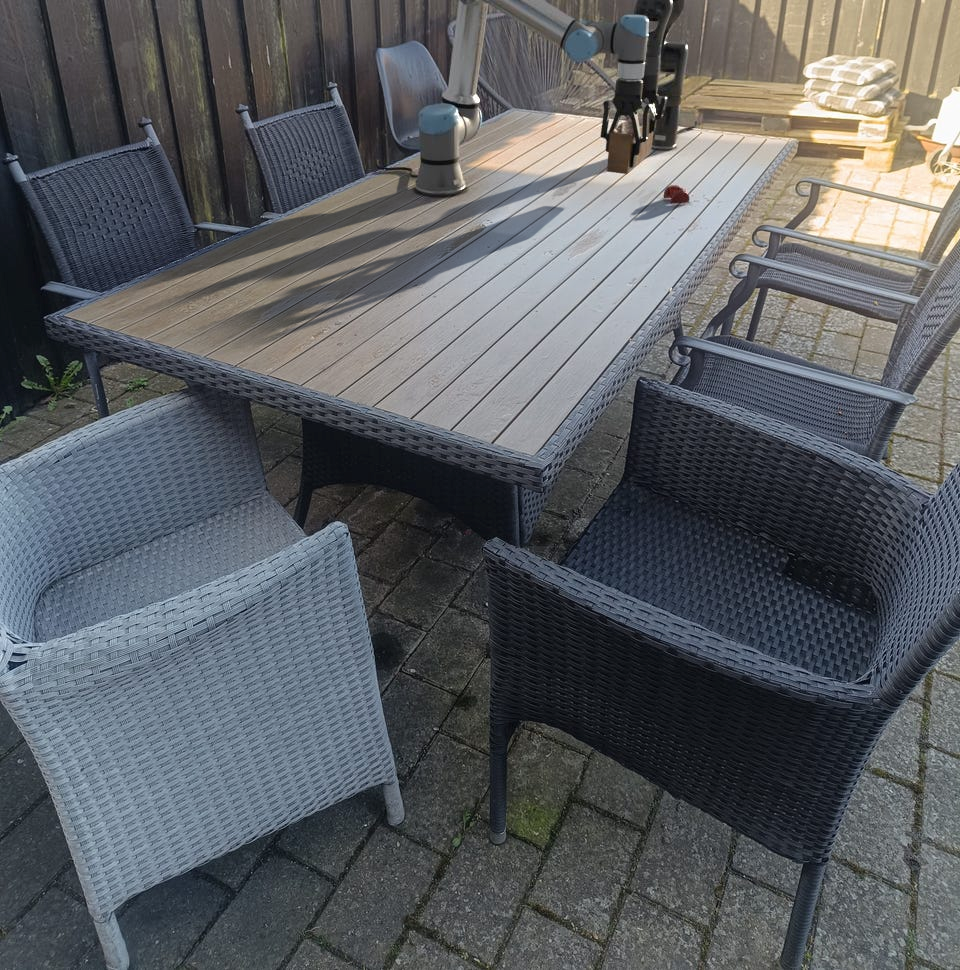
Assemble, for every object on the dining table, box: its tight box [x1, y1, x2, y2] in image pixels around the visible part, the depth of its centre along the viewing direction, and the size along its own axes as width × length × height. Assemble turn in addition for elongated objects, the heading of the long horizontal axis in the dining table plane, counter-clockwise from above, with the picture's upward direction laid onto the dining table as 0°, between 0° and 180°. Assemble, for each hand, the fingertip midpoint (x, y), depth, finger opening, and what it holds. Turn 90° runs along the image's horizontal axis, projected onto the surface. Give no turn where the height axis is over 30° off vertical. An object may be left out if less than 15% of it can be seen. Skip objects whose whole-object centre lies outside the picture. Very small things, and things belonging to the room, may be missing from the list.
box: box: [606, 112, 653, 175], centre depth 251 cm, size 27×6×11 cm, turn 156°
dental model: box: [663, 184, 690, 205], centre depth 248 cm, size 6×4×8 cm
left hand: (621, 164), depth 247 cm, fingers closed on box, 6 cm apart
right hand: (640, 131), depth 258 cm, fingers closed on box, 6 cm apart
